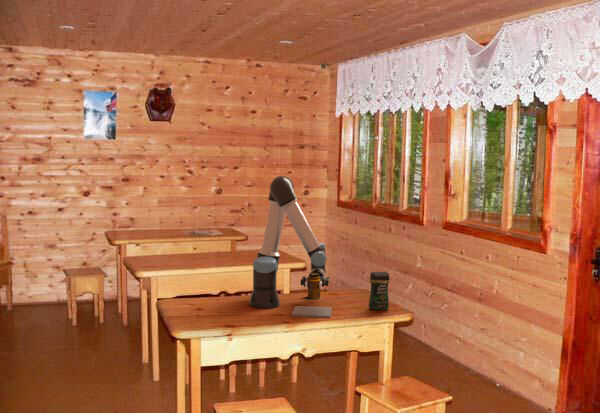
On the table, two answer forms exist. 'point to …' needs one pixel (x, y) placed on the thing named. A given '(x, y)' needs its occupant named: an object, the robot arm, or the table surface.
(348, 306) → the table surface
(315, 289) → the condiment
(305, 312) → the plain gray board
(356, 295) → the table surface
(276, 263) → the robot arm
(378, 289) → the coffee jar
